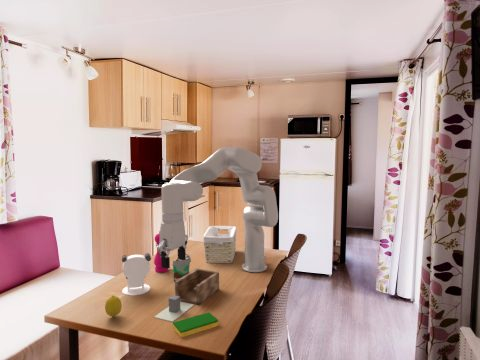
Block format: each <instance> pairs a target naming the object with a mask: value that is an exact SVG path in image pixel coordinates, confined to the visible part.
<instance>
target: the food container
mask: <svg viewBox="0 0 480 360" xmlns="http://www.w3.org/2000/svg"><path fill="white" fill-rule="evenodd" d="M191 262H192V257H191V255H189V253H186V259H185V260H181V259H178V258H177V259H175V260H173V261H172V269H173V270H172V272H173V282H174V283H175V281H177V280H178V279H180V278H182V277H183V276H185V275H187V274H188V273H190V265H191Z"/></svg>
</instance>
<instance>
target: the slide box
mask: <svg viewBox="0 0 480 360" xmlns="http://www.w3.org/2000/svg"><path fill="white" fill-rule="evenodd" d="M174 290H175V291H174V295H175V296H180V302H185V303H189V304H194V305H198V306H200V305H201V304H202V303H204V302H205V301H207V300H208V299H209V298H210V297H212V296H213V295H214V294H215V293H217V292H218V291H219V290H220V272H218V271H214V270H213V271H212V270H209V269H208V270H207V269H202V268H195V269H194V270H192V271H189V273H188V274H187V275H185V276H183V277H182V278H180V279H178V280H177V281H175V282H174Z"/></svg>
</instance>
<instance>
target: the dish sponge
mask: <svg viewBox="0 0 480 360" xmlns="http://www.w3.org/2000/svg"><path fill="white" fill-rule="evenodd" d="M215 327H216V328H217V327H219V319H218V318H217V317H216V316H215V315H213V314H212V313H211V312H210V311H209V312H205V313H202V314H198V315H195V316H191V317H187V318H184V319H180V320H175V321H173V322H172V329H173V331H175V332H176V333H177V335H178V336H179V338H184V337H187V336H190V335H194V334H196V333H200V332H203V331H207V330H210V329H212V328H213V329H214V328H215Z"/></svg>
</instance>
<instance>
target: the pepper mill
mask: <svg viewBox="0 0 480 360" xmlns="http://www.w3.org/2000/svg"><path fill="white" fill-rule="evenodd" d="M154 241H155V247H156V248H157V247H158V245H159V241H160V230H158V233H157V234H155V236H154ZM166 252H167V251H165V253H166ZM153 264H154V266H155V267H154V270H155V272H156V273H165V272H168V271H169V268H163V267H162V266H161V257H160V255H159V254H158V250H157V249H156V253H155V255H154V259H153Z"/></svg>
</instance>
